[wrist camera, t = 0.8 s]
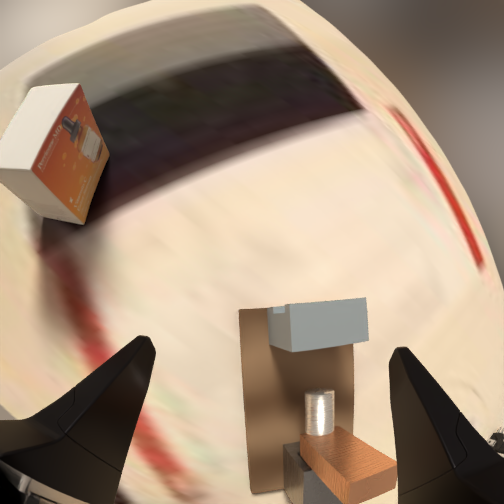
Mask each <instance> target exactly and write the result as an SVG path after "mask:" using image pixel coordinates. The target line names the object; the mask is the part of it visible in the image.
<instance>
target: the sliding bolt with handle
mask: <svg viewBox="0 0 504 504" xmlns="http://www.w3.org/2000/svg"><path fill="white" fill-rule="evenodd" d="M300 456H301V457H302V458H303V459H304V460H305V463H306V464H307V465H308V467H311V469H312V470H313V471H314V472H315V473H316V474H317V476H318V477H319V478H320V479H321V480H322V481H323V482H324V483H325V485H326V486H327V487H328V488H329V489H330V490H331V491H332V492H333V493H334V494H335V495H336V497H337V498H338V499H339V500H340V501H341V502H342V503H343V504H359V503H362V502H364V501H367V500H369V499H372V498H374V497H376V496H379V495H381V494H383V493H385V492H388V491H390V490H392V489H394V488H395V486H396V481H397V476H398V475H397V462H396V461H395V460H393V459H391V458H390V457H388V456H386V455H384V454H383V453H381V452H379V451H378V450H376V449H374V448H373V447H371V446H370V445H368V444H366V443H365V442H363V441H362V440H360V439H358V438H357V437H355V436H354V435H352V434H351V433H349V432H348V431H346V430H345V429H343V428H341V427H340V426H334V390H333V389H331V388H315V389H310V390H307V391H306V392H305V433H303V434H300Z"/></svg>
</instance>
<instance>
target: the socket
mask: <svg viewBox="0 0 504 504" xmlns="http://www.w3.org/2000/svg"><path fill="white" fill-rule="evenodd" d="M267 316H268V334H269V344H270V345H273V346H275V347H278V348H281V349H284V350H287V351H290V352H299V351H307V350H314V349H321V348H328V347H335V346H341V345H347V344H353V343H359V342H364V341H369V335H368V318H367V304H366V298H356V299H346V300H335V301H323V302H311V303H297V304H287V305H285V306H281V307H270V308H267Z"/></svg>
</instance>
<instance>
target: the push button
mask: <svg viewBox="0 0 504 504" xmlns="http://www.w3.org/2000/svg"><path fill="white" fill-rule="evenodd" d="M503 429H504V428H503ZM500 430H501V427H500V428H499V430H498V431H497V433H493V435H492V436H491V438H490V439H489V440H488V441H487V442H488V444H489V445H490V446H491V447H492V448H493V449H494V450H495V451H496V452H497V453H498V454H499V455H501V456H502V457H504V434H503V431H504V430H502V431H501V433H499V432H500Z"/></svg>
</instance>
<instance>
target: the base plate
mask: <svg viewBox="0 0 504 504" xmlns="http://www.w3.org/2000/svg"><path fill="white" fill-rule="evenodd" d="M239 327H240V345H241V363H242V380H243V396H244V411H245V426H246V440H247V453H248V466H249V479H250V489H251V492H252V493H260V492H266V491H273V490H279V489H284V475H283V444H288V443H293V442H298V441H300V434H303V433H305V392H306V391H307V390H310V389H315V388H331V389H333V390H334V426H340V427H341V428H343V429H345V430H346V431H348V432H349V433H351V434H352V435H353V418H354V356H353V344H347V345H341V346H335V347H328V348H321V349H314V350H307V351H299V352H290V351H287V350H284V349H281V348H278V347H275V346H273V345H270V344H269V334H268V316H267V308H259V309H240V310H239Z"/></svg>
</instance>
